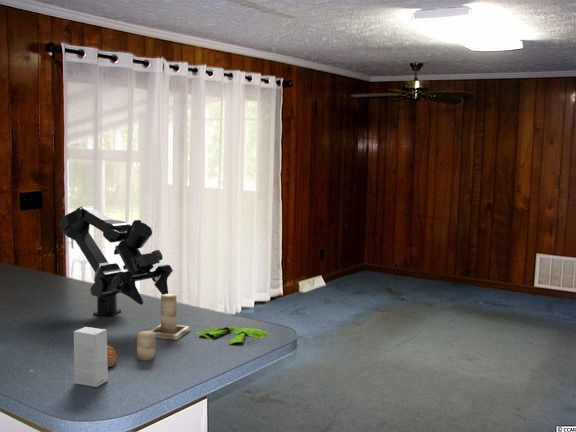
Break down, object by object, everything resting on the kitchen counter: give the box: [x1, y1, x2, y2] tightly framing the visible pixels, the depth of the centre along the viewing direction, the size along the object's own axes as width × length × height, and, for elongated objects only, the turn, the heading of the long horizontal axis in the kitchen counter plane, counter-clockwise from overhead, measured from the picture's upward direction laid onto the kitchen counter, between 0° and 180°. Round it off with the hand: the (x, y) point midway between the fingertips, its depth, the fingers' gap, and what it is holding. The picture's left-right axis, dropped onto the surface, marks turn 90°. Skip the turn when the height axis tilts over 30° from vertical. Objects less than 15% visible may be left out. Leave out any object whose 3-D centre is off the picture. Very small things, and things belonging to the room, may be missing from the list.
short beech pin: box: [136, 330, 156, 361], centre depth 146 cm, size 4×4×6 cm
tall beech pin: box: [160, 293, 178, 334], centre depth 165 cm, size 4×4×11 cm
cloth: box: [194, 326, 270, 346], centre depth 165 cm, size 20×22×2 cm
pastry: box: [107, 344, 118, 368], centre depth 142 cm, size 9×7×4 cm
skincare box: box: [73, 326, 109, 388], centre depth 130 cm, size 6×4×12 cm
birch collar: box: [149, 323, 191, 341], centre depth 166 cm, size 9×9×1 cm
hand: (155, 301), depth 169 cm, fingers open, 9 cm apart
